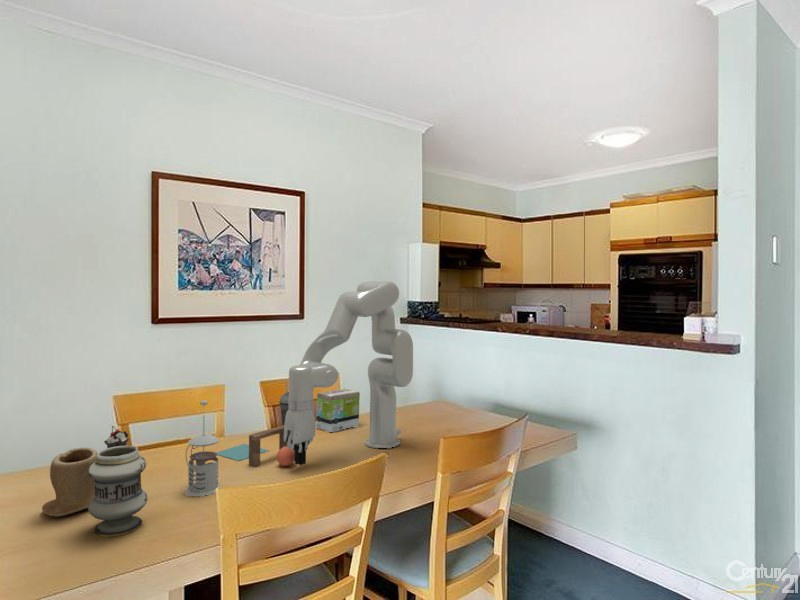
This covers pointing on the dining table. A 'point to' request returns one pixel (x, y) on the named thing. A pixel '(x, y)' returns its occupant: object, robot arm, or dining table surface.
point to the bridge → (255, 443)
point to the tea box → (337, 410)
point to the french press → (202, 466)
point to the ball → (286, 456)
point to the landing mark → (238, 452)
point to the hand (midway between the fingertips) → (300, 463)
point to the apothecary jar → (117, 490)
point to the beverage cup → (284, 405)
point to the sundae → (117, 439)
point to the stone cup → (71, 482)
